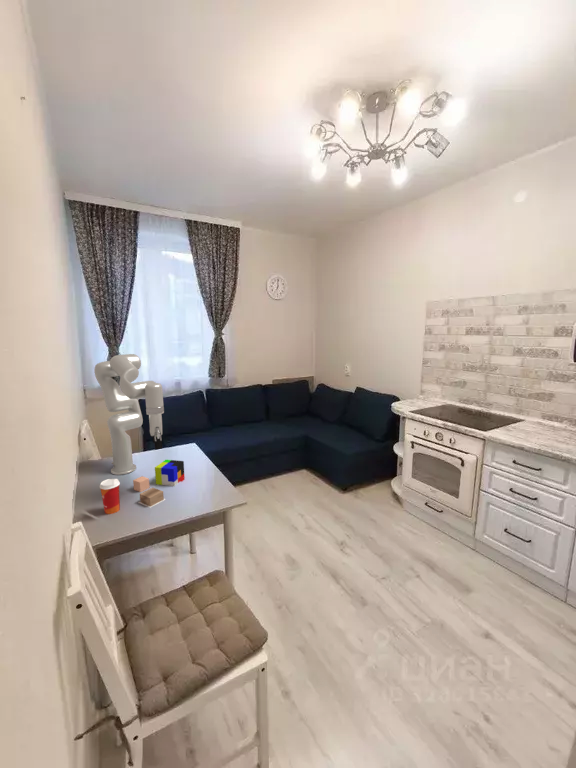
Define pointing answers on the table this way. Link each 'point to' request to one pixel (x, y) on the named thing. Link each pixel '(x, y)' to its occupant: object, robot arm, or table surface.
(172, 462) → the puzzle toy
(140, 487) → the top block
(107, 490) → the paper cup
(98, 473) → the table surface
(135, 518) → the table surface
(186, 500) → the table surface
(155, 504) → the build mat
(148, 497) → the base block
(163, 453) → the table surface
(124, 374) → the robot arm
